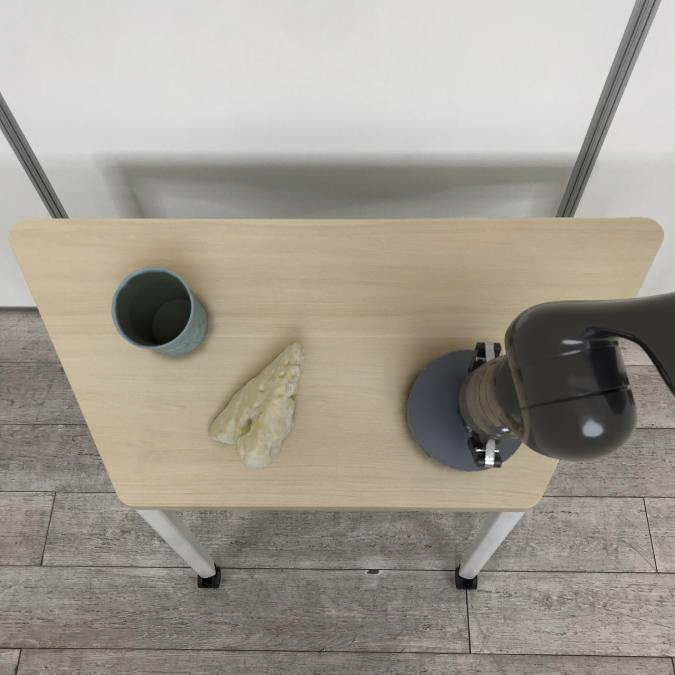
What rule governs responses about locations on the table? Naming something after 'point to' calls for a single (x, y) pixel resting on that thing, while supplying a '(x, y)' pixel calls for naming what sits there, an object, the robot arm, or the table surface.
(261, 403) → the cream rock
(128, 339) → the blue cup
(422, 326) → the table surface
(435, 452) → the lid
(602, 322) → the robot arm
